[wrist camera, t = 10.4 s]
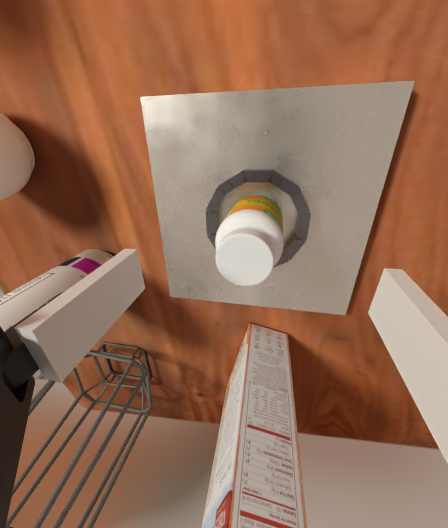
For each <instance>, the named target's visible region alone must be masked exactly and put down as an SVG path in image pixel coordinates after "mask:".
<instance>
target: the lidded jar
mask: <svg viewBox="0 0 448 528" xmlns="http://www.w3.org/2000/svg"><path fill="white" fill-rule="evenodd" d="M34 166H35V157H34V152H33V149H32V146H31V144H30V142H29V140H28V138H27V137H26V136H25V134H24V133H23V132H22V131H21V130H20V129H19V128H18V127H17V126H16V125H15V124H14V123H12V122H11V121H10V120H9V119H8V118H7V117H6V116H5V115H4V114H3V113H1V112H0V200H3V199H6V198H8V197H10V196H12V195H14V194H16V193H17V192H19V191H20V190H21V189H22V188H23V187H24V186H25V185H26V184H27V182H28V181H29V179H30V176H31V173H32V171H33V169H34Z"/></svg>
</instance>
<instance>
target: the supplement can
mask: <svg viewBox="0 0 448 528" xmlns="http://www.w3.org/2000/svg"><path fill="white" fill-rule="evenodd" d="M113 257H114V256H112V255H111V254H109V253H107V252H104V251H101V250H98V249H88V250H86V251H84V252H82V253H80V254H78V255H76V256H75V257H73V258H71V259H69V260H67V261H66V262H64V263H62V264H60V265H58V266H57V267H55V268H53V269H51V270H49V271H48V272H46V273H44V274H42V275H40V276H39V277H37V278H35V279H33V280H31V281H30V282H28V283H26V284H24V285H22V286H21V287H19V288H17V289H15V290H13V291H12V292H10V293H8V294H6V295H4V296H3V297H1V298H0V326H1V328H2V329H3V331H4V332H5V331H6V330H8V329H9V328H11V327H12V326H13V325H15V324H16V323H18V322H19V321H21V320H22V319H23V318H25V317H26V316H28V315H29V314H30V313H32V312H33V311H35V310H36V309H39V307H40V306H42V305H43V304H45V303H47V302H48V301H49V300H50V299H52V298H53V297H55V296H56V295H58V294H60V293H62V292H64V291H66V290H68V289H69V288H70V287H72V286H73V285H75V284H76V283H77V282H79V281H80V280H82V279H83V278H85V277H86V276H87V275H89V274H90V273H92V272H93V271H94V270H96V269H97V268H99V267H100V266H101V265H103V264H104V263H106V262H107V261H108V260H110V259H111V258H113ZM42 376H43V375H42V373H41V371H40V370H38V371H37V372H36V373H35V374H34V375H33V377H34V379H37V378H39V377H42Z"/></svg>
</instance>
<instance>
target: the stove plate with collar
mask: <svg viewBox="0 0 448 528" xmlns="http://www.w3.org/2000/svg"><path fill="white" fill-rule="evenodd" d="M414 82H415V81H402V82H385V83H368V84H351V85H334V86H317V87H300V88H283V89H266V90H249V91H232V92H215V93H198V94H181V95H164V96H147V97H140V98H141V105H142V111H143V118H144V125H145V131H146V138H147V145H148V151H149V158H150V165H151V171H152V178H153V185H154V191H155V198H156V205H157V211H158V218H159V225H160V231H161V238H162V245H163V251H164V258H165V265H166V271H167V278H168V285H169V291H170V297H178V298H187V299H196V300H206V301H215V302H225V303H234V304H244V305H253V306H263V307H272V308H282V309H291V310H300V311H310V312H319V313H329V314H338V315H346V312H347V309H348V305H349V302H350V298H351V295H352V292H353V288H354V285H355V281H356V278H357V275H358V271H359V268H360V264H361V261H362V258H363V254H364V251H365V248H366V244H367V241H368V237H369V234H370V231H371V227H372V224H373V220H374V217H375V214H376V210H377V207H378V204H379V200H380V197H381V193H382V190H383V187H384V183H385V180H386V176H387V173H388V170H389V166H390V163H391V159H392V156H393V153H394V149H395V146H396V143H397V139H398V136H399V132H400V129H401V126H402V122H403V119H404V115H405V112H406V109H407V105H408V102H409V98H410V95H411V92H412V88H413V85H414ZM252 194H260V195H264V196H267V197H269V198H271V199H272V200H273V201H274V202H275V203H276V204H277V205H278V207H279V208H280V211H281V214H282V222H283V237H284V246H283V252H282V255H281V257H280V259H279V261H278V262H277V263H276V265H275V266H274V267H273V269H272V272H271V273H270V275H269V276H268V277H267V278H266V279H265V280H264V281H263V282H261V283H259V284H256V285H253V286H239V285H236V284H233V283H231V282H229V281H228V280H227V279H225V278H224V277H223V276H222V275H221V273H220V272H219V270H218V268H217V265H216V247H215V238H216V234H217V231H218V229H219V226H220V225H221V223H222V222H223V220H224V219H225V218H226V216H227V215H228V214H229V212H230V211H231V209H232V208H233V206H234V205H235V204H236V203H237V202H238V201H239V200H240V199H242V198H243V197H245V196H248V195H252Z"/></svg>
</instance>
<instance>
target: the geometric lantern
mask: <svg viewBox="0 0 448 528" xmlns="http://www.w3.org/2000/svg"><path fill="white" fill-rule="evenodd" d="M104 344H105V345H112V346H118V347H125V348H132V349H135V351H134V353H133V354H132V356H131V355H124V354H116V353H109V352H105V351H104V348H103V346H104ZM100 350H102V352H101V351H100ZM137 350H139V351H141V354H140V355H139V357H136V356H134V355H135V354H136V352H137ZM87 354H88V355H85V356H84V358H86V357H91V356H93V357H94V359H95V361H96V364H97V366H98V368H99V371H100V373H101V375H102V377H103V381H101V382H99V383H98V384H96V385H94V386H93V387H91V388H90V389H88V390H86V391H85V392H84V389H83V386H82V384H81V381H80V378H79V375H78V372H77V370H76V367H75V368H74V369H73V370H72V371H73V373H74V376H75V379H76V381H77V384H78V387H79V389H80V392H81V393H80V395H79V396H78V397H77V399H76V400H75V402H74V403H73V405H72V406H71V407H70V409H69V410H68V411H67V413H66V414H65V416H64V417H63V418H62V420H61V421H60V423H59V424H58V425H57V427H56V428H55V430H54V431H53V432H52V434H51V435H50V437H49V438H48V440H47V441H46V442H45V444H44V445H43V447H42V448H41V449H40V451H39V452H38V453H37V455H36V456H35V458H34V459H33V461H32V462H31V463H30V465H29V466H28V467H27V469H26V470H25V472H24V473H23V474H22V476H21V477H20V479H19V480H18V481H17V483H16V484H15V486H14V487H13V492H12V496H13V494H14V493H15V492H16V490H17V489H18V487H19V486H20V484H21V483H22V482H23V480H24V478H25V477H26V476H27V474H28V473H29V471H30V470H31V468H32V467H33V466H34V464H35V463H36V461H37V460H38V459H39V457H40V456H41V454H42V453H43V451H44V450H45V449H46V447H47V446H48V444H49V443H50V442H51V440H52V439H53V437H54V436H55V434H56V433H57V431H58V430H59V429H60V427H61V426H62V424H63V423H64V421H65V420H66V419H67V417H68V416H69V414H70V413H71V411H72V410H73V408H74V407H75V406H76V404H77V403H78V401H79V400H80V399H81V397H82V396H84V397H85V398H87V399H88V400H89V401H90V402H92V404H91V406H90V407H89V408H88V410H87V411H86V412H85V414H84V415H83V416H82V418H81V419H80V421H79V422H78V423H77V425H76V426H75V428H74V429H73V430H72V432H71V433H70V434H69V436H68V437H67V439H66V440H65V441H64V443H63V444H62V446H61V447H60V449H59V450H58V451H57V452H56V454H55V455H54V457H53V458H52V459H51V461H50V462H49V464H48V465H47V466H46V468H45V469H44V470H43V472H42V473H41V475H40V476H39V478H38V479H37V480H36V482H35V483H34V484H33V486H32V487H31V488H30V490H29V491H28V493H27V494H26V495H25V497H24V498H23V500H22V501H21V502H20V504H19V505H18V507H17V508H16V509H15V511H14V512H13V514H12V515H11V516H10V518H9V519H8V520H7V522H6V526H5V528H12V527H9V525H10V524H11V522H12V521H13V520H14V518H15V517H16V515H17V514H18V512H19V511H20V510H21V508H22V507H23V505H24V504H25V503H26V501H27V500H28V498H29V497H30V495H31V494H32V493H33V491H34V490H35V488H36V487H37V485H38V484H39V483H40V481H41V480H42V479H43V477H44V476H45V474H46V473H47V471H48V470H49V468H50V467H51V466H52V464H53V463H54V462H55V460H56V459H57V457H58V456H59V454H60V453H61V452H62V450H63V449H64V447H65V446H66V445H67V443H68V442H69V440H70V438H71V437H72V436H73V435H74V433H75V432H76V430H77V429H78V427H79V426H80V425H81V423H82V422H83V420H84V419H85V418H86V416H87V415H88V413H89V412H90V411H91V409H92V408H93V407H94V405H95V404H98V405H103V406H104V408H103V410H102V411H101V413H100V415H99V416H98V418H97V420H96V422H95V423H94V425H93V427H92V428H91V430H90V432H89V433H88V435H87V437H86V439H85V440H84V442H83V444H82V445H81V447H80V449H79V450H78V452H77V454H76V456H75V457H74V459H73V461H72V463H71V464H70V466H69V468H68V469H67V471H66V473H65V475H64V476H63V478H62V480H61V481H60V483H59V485H58V486H57V488H56V490H55V491H54V493H53V495H52V496H51V498H50V500H49V501H48V503H47V505H46V507H45V508H44V510H43V512H42V513H41V515H40V517H39V518H38V520H37V522H36V523H35V525H34V527H33V528H40V527H41V525H42V523H43V522H44V520H45V518H46V517H47V515H48V513H49V511H50V509H51V508H52V506H53V504H54V503H55V501H56V499H57V497H58V496H59V494H60V492H61V490H62V488H63V487H64V485H65V483H66V481H67V479H68V478H69V476H70V474H71V473H72V471H73V469H74V467H75V466H76V464H77V462H78V460H79V459H80V457H81V455H82V453H83V452H84V450H85V448H86V446H87V444H88V443H89V441H90V439H91V437H92V436H93V434H94V432H95V430H96V429H97V427H98V425H99V423H100V422H101V420H102V418H103V416H104V415H105V413H106V411H107V409H108V408H109V407H114V408H119V409H123V410H122V411H121V413H120V415H119V416H118V418H117V420H116V422H115V423H114V425H113V427H112V428H111V430H110V432H109V433H108V435H107V437H106V438H105V440H104V442H103V444H102V445H101V447H100V449H99V450H98V452H97V454H96V455H95V457H94V459H93V461H92V462H91V464H90V466H89V467H88V469H87V471H86V472H85V474H84V476H83V477H82V479H81V481H80V483H79V484H78V486H77V488H76V489H75V491H74V493H73V494H72V496H71V498H70V500H69V501H68V503H67V505H66V507H65V508H64V510H63V512H62V514H61V515H60V517H59V519H58V520H57V522H56V524H55V526H54V528H60V526H61V524H62V523H63V521H64V519H65V517H66V516H67V514H68V512H69V510H70V509H71V507H72V505H73V504H74V502H75V500H76V498H77V497H78V495H79V493H80V491H81V490H82V488H83V486H84V484H85V483H86V481H87V479H88V477H89V475H90V474H91V472H92V470H93V469H94V467H95V465H96V463H97V462H98V460H99V458H100V456H101V455H102V453H103V451H104V449H105V448H106V446H107V444H108V442H109V441H110V439H111V437H112V435H113V434H114V432H115V430H116V428H117V427H118V425H119V423H120V421H121V419H122V418H123V416H124V414H125V413H126V411H127V410H129V411H134V412H139V413H140V414H139V416H138V418H137V420H136V421H135V423H134V425H133V427H132V429H131V430H130V433H129V434H128V436H127V438H126V440H125V441H124V443H123V445H122V447H121V449H120V451H119V452H118V454H117V456H116V458H115V460H114V462H113V463H112V465H111V467H110V469H109V471H108V473H107V474H106V476H105V478H104V480H103V482H102V484H101V485H100V487H99V489H98V491H97V493H96V495H95V496H94V498H93V500H92V502H91V504H90V505H89V507H88V509H87V511H86V513H85V515H84V516H83V518H82V520H81V522H80V524H79V526H78V527H77V528H83V526H84V524H85V522H86V520H87V518H88V516H89V514H90V513H91V511H92V509H93V507H94V505H95V503H96V501H97V499H98V498H99V496H100V494H101V492H102V490H103V488H104V486H105V484H106V483H107V481H108V479H109V477H110V475H111V473H112V471H113V469H114V467H115V466H116V464H117V462H118V460H119V458H120V456H121V454H122V452H123V451H124V449H125V447H126V445H127V443H128V441H129V439H130V437H131V435H132V434H133V432H134V430H135V428H136V426H137V424H138V422H139V420H140V418H141V417H142V415H143V413H145V412H146V414H145V416H144V418H143V420H142V422H141V424H140V426H139V428H138V430H137V432H136V434H135V436H134V438H133V440H132V441H131V444H130V445H129V447H128V449H127V451H126V453H125V455H124V457H123V459H122V461H121V463H120V465H119V467H118V469H117V471H116V473H115V475H114V477H113V479H112V481H111V483H110V485H109V486H108V488H107V491H106V492H105V494H104V496H103V498H102V500H101V502H100V504H99V506H98V508H97V510H96V512H95V514H94V516H93V518H92V520H91V522H90V524H89V526H88V528H93V526H94V524H95V522H96V520H97V518H98V516H99V514H100V512H101V510H102V508H103V506H104V504H105V502H106V500H107V498H108V496H109V494H110V492H111V490H112V488H113V486H114V484H115V482H116V480H117V478H118V476H119V473H120V471H121V470H122V468H123V465H124V464H125V461H126V459H127V458H128V455H129V453H130V451H131V449H132V447H133V445H134V443H135V441H136V439H137V437H138V435H139V433H140V431H141V429H142V427H143V425H144V423H145V421H146V419H147V417H148V415H149V413H150V411H151V410H152V397H151V388H150V377H151V376H150V372H149V368H148V364H147V360H146V356H145V352H144V350H142V349H140V348H139V347H134V346H127V345H121V344H114V343H107V342H103V343H102V345H101V347H100V348H99V349H98V350H97V351H93V350H90V351H89V352H88V353H87ZM142 354H143V357H144V361H145V365H146V367H145V366H144V365H143V363H142V362H141V360H140V358H141V356H142ZM112 355H113V356H112ZM96 356H98V357H103V358H105V361H106V363H107V366H108V369H109V371H110V372H109V374H108V375H107V376H106V378H105V376H104V374H103V371H102V369H101V367H100V364H99V362H98V360H97V357H96ZM117 356H120V357H117ZM122 357H128V358H132V359H127V358H122ZM108 359H112V360H117V361H122V362H127V363H129V365H128V367H127V368H126V370H125V372H124V374H118V373H116V372H114V371H112V370H111V367H110V365H109V362H108ZM134 359H136V360H137V362H136V361H134ZM132 365H135V366H136V367H138V368H139V370H140V373H141V377H136V376H130V375H127V374H128V372H129V370H130V369H131V367H132ZM142 370H143V371H144V374H143V372H142ZM111 373H113V374H114V376H113V378H112V379H111V381H110V382H109V381H107V378H108V377H109V375H110V374H111ZM116 375H117V376H122V377H121V379H120V381H119V382H118V384H116V383H112V381H113V380H114V378H115V377H116ZM126 377H128V378H134V379H140V381H139V382H138V384H137V386H134V385H125V384H122V383H123V381H124V379H125V378H126ZM145 377H146V378H145ZM55 382H56V381H52V380H49V381H48V382H47V383H46V385H45V386H44V387H43V388H42V389H41V390H40V392H39V393H38V394H37V395H36V396H35V397H34V398H33V400H32V401H31V405H30V409H29V414H28V416H29V415H30V414H31V412H32V411H33V410H34V408H35V407H36V406H37V405H38V403H39V402H40V401H41V400H42V398H43V397H44V396H45V395H46V393H47V392H48V391H49V389H50V388H51V387H52V386H53V384H54V383H55ZM103 382H106V383H107V385H106V386H105V388H104V389H103V390H102V392H101V393H100V395H99V396H98V398H97V399H96V400H94V399H93V398H92V397H90V396H89V395H88V394H87V392H89V391H90V390H92V389H93V388H95V387H97V386H98V385H100V384H102V383H103ZM142 383H143V385H142V386H141V384H142ZM108 385H114V386H116V387H115V389H114V391H113V392H112V394H111V396H110V398H109V399H108V401H107V402H102V401H98V400H99V398H100V397H101V395H102V394H103V392H104V391H105V390H106V388H107V387H108ZM121 386H122V387H131V388H135V389H134V391H133V393H132V394H131V396H130V398H129V399H128V401H127V403H126V405H125V406H122V405H117V404H112V403H111V402H112V401H113V399H114V397H115V395H116V394H117V392H118V390H119V388H120V387H121ZM144 388H145V392H146V396H147V400H148V403H149V407H148V408H145V409H144ZM139 389H142V409H137V408H132V407H129V406H130V404H131V402H132V400H133V399H134V397H135V395H136V393H137V392H138V390H139Z"/></svg>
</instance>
